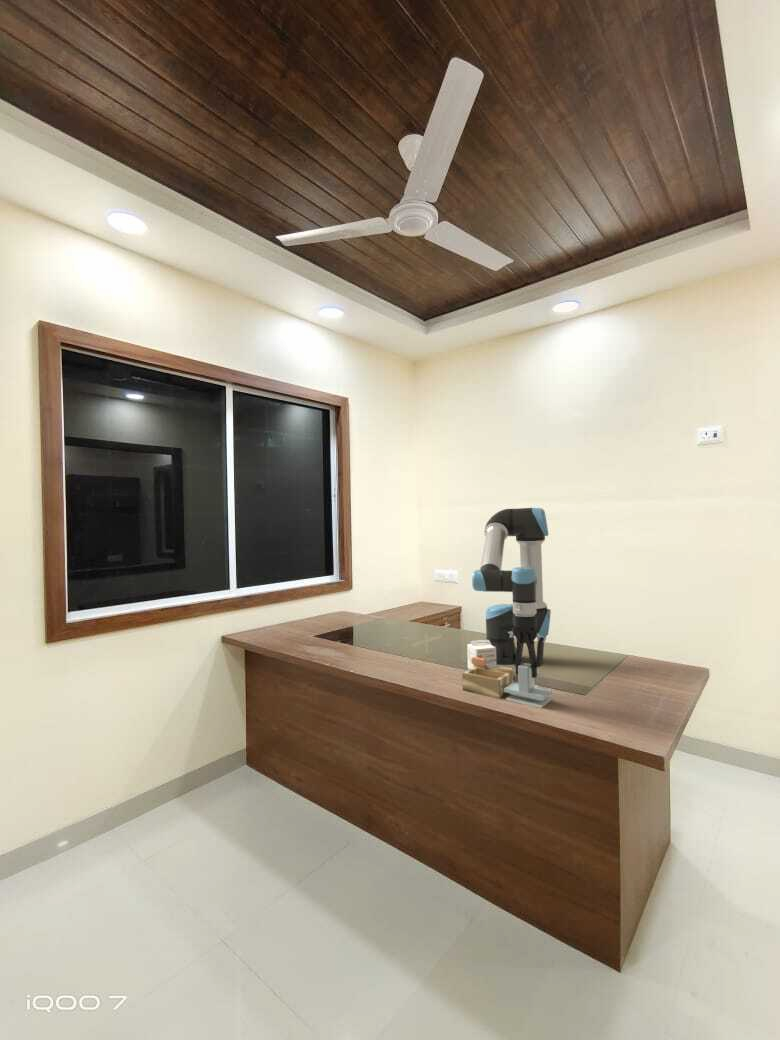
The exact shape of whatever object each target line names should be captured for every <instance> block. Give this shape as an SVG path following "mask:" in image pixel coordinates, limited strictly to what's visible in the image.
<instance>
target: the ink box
mask: <svg viewBox="0 0 780 1040" xmlns="http://www.w3.org/2000/svg"><path fill="white" fill-rule="evenodd" d="M466 647H467V650H466V652H467V654H466V655H467V671H468V670H470V669H472V668H474V666H473V664H472V657H478V658H484V659H486V664H488V668H494V669H497V668H498V667H497V665H498V664H497V663H496V647H494V646H492V645H491V643H490V641H489V640H486V639H479V640H471V641H470V643H468V644H467V646H466Z"/></svg>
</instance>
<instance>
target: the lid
mask: <svg viewBox="0 0 780 1040" xmlns="http://www.w3.org/2000/svg"><path fill="white" fill-rule="evenodd" d="M521 664H522V665H521V666H519V684H518V683H516V682H513V683H512V684H510V685H509V686H507V687H505V688H504V692H507V694H509V696H510V695H515V696H519V697H524V698H528V699H533V700H537V701H542V700H543V701H544V700H545V699H546V698H549V697H550V696H551V695H552V694H553V690H552V689H548V688H547V689H546V688H542V687H540V685H538V684H535V686H534V687H533V688H529V668H530V667H531V664H530V663H526V662H524V663H521Z"/></svg>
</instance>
